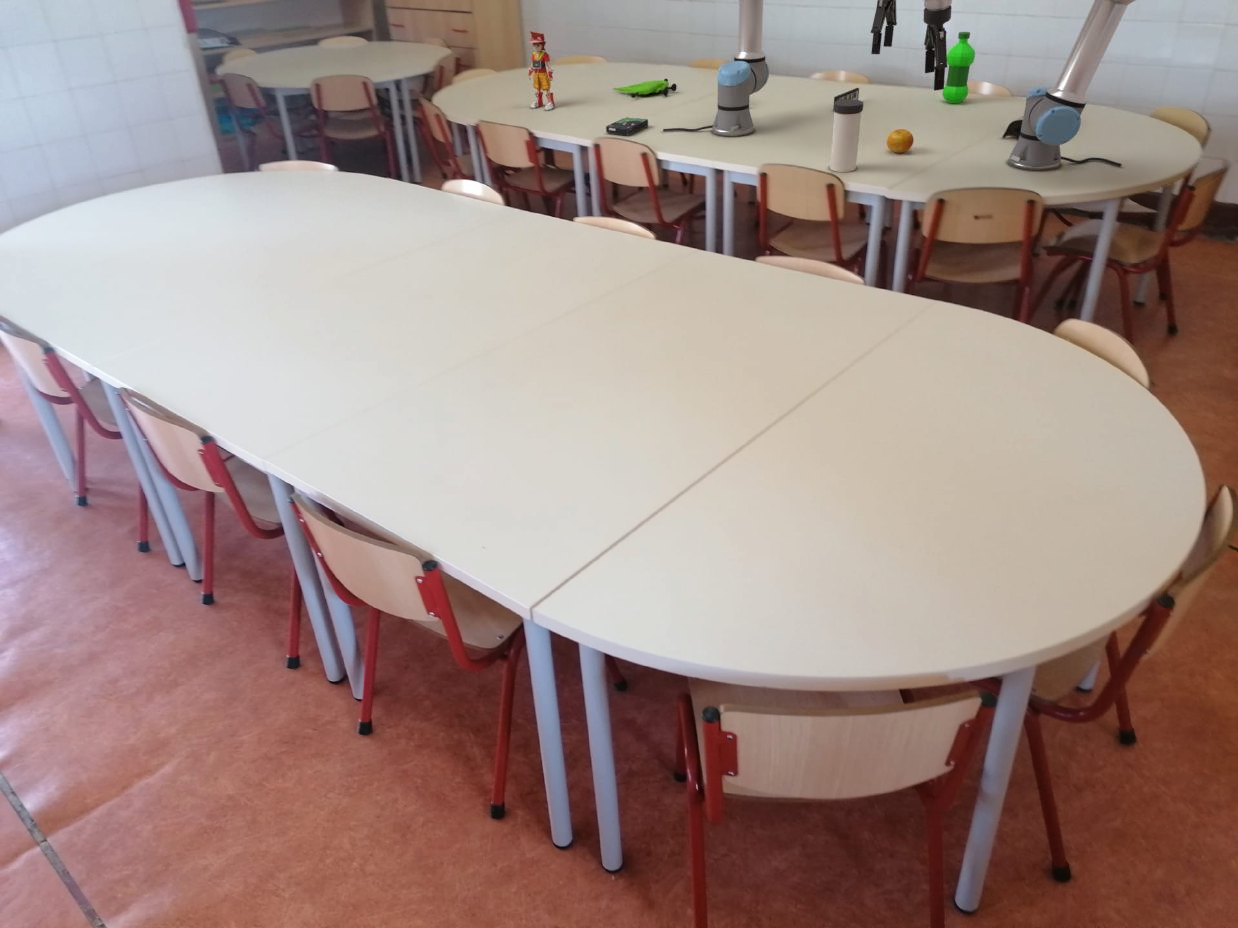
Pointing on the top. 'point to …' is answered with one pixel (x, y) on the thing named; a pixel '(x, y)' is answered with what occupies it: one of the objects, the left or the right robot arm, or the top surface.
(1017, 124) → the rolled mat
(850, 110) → the lid
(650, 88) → the toy
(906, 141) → the fruit
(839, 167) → the jar
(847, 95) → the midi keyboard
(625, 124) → the disk drive
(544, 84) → the toy
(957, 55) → the plastic bottle
